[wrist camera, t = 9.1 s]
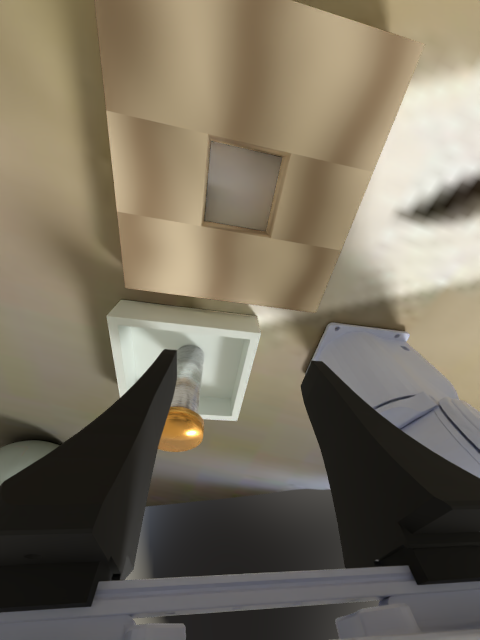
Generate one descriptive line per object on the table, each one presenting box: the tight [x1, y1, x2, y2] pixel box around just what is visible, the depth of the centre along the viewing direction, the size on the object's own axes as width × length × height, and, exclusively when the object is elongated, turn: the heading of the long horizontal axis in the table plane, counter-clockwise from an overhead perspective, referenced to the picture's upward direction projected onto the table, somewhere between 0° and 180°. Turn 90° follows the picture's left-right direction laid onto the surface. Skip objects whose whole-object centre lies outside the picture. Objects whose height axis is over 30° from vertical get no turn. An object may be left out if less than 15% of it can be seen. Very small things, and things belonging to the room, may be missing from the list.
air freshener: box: [0, 440, 60, 485], centre depth 29 cm, size 11×8×10 cm
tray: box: [106, 299, 261, 421], centre depth 24 cm, size 13×13×3 cm
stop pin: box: [158, 345, 204, 452], centre depth 20 cm, size 4×4×9 cm
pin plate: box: [94, 0, 425, 313], centre depth 15 cm, size 16×16×2 cm
